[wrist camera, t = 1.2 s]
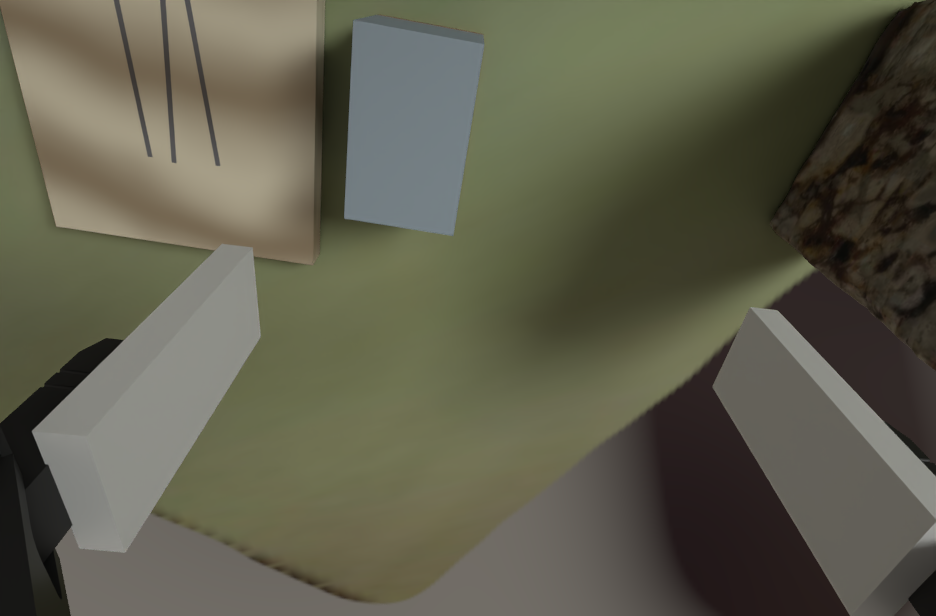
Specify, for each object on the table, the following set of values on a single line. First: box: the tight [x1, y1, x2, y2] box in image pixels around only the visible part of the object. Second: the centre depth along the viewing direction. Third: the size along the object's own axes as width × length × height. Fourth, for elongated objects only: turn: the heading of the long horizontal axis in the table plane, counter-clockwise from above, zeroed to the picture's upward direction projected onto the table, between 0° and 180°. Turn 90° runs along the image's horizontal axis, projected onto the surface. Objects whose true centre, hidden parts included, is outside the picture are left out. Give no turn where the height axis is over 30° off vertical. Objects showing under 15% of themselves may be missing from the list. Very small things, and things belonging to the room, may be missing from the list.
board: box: [0, 0, 325, 265], centre depth 25 cm, size 19×14×2 cm
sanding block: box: [344, 15, 484, 236], centre depth 24 cm, size 8×5×6 cm, turn 171°
